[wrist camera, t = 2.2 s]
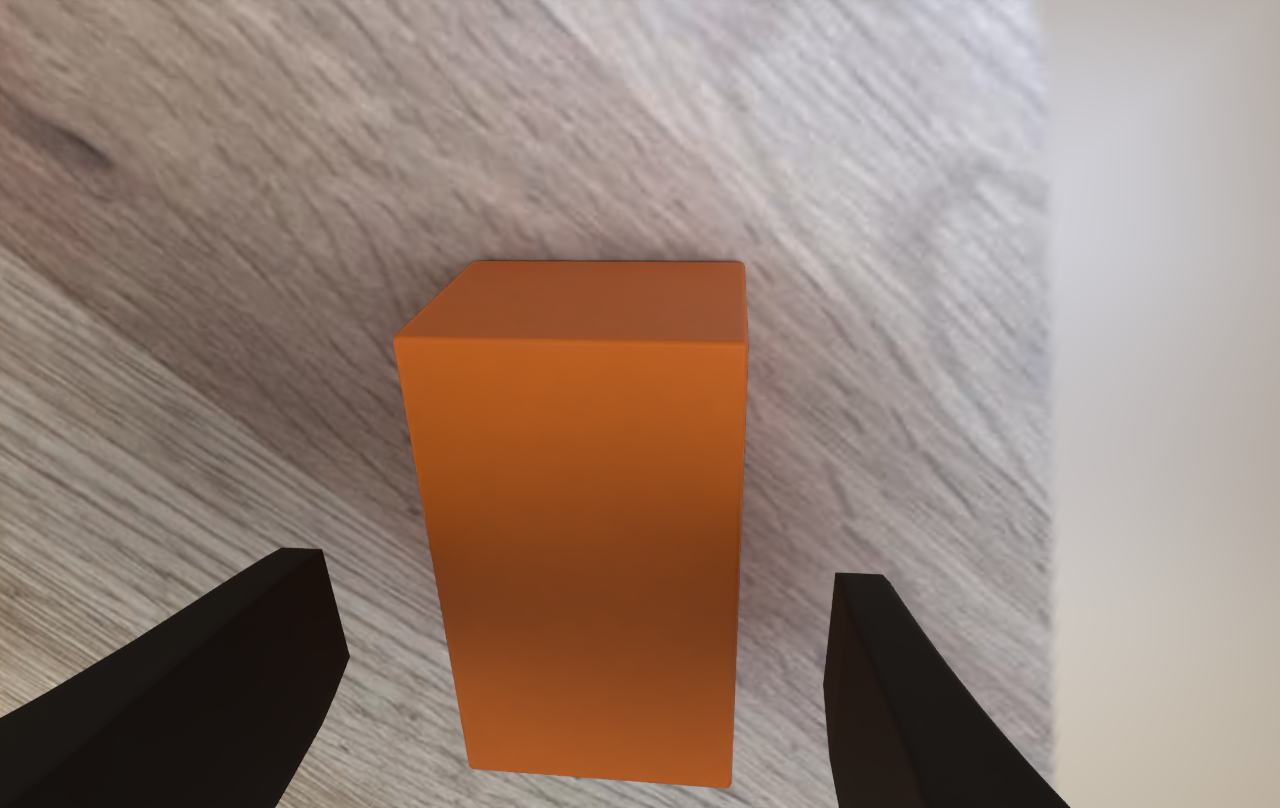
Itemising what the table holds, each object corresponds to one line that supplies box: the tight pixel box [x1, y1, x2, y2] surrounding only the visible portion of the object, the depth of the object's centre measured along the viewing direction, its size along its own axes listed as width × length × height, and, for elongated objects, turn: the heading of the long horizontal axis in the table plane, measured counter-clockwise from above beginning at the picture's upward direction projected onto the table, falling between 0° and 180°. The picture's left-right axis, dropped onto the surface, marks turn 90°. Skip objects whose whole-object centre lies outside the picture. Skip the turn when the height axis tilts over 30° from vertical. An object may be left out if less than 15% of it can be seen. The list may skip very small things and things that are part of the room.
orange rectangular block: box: [393, 261, 749, 788], centre depth 13 cm, size 4×8×4 cm, turn 1°
